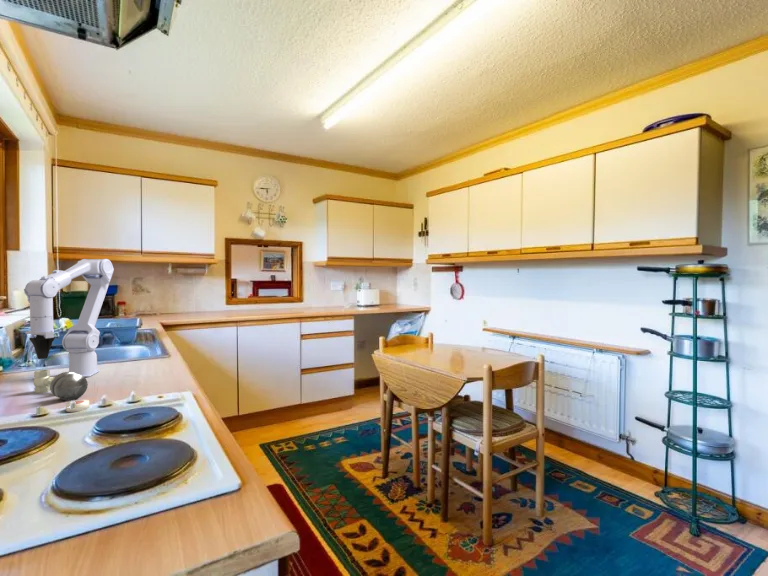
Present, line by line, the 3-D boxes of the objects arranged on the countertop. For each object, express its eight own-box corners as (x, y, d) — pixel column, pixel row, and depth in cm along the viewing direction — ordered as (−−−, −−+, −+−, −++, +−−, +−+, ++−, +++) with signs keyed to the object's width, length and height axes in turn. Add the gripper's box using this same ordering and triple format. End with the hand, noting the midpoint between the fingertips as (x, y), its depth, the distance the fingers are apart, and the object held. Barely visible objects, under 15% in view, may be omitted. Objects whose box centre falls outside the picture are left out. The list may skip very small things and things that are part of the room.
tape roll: (71, 407, 111) (71, 400, 110) (92, 405, 112) (92, 398, 112) (62, 412, 106) (62, 405, 106) (84, 411, 107) (84, 404, 107)
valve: (25, 394, 123) (57, 396, 121) (25, 373, 123) (57, 374, 121) (47, 388, 130) (78, 390, 127) (47, 368, 130) (78, 369, 127)
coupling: (50, 400, 116) (49, 374, 116) (81, 394, 123) (80, 369, 122) (56, 403, 113) (55, 376, 113) (87, 397, 120) (87, 371, 120)
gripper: (18, 316, 131) (19, 358, 132) (33, 319, 123) (34, 363, 123) (46, 315, 137) (46, 354, 137) (61, 317, 129) (62, 359, 129)
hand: (42, 358), depth 131 cm, fingers closed
